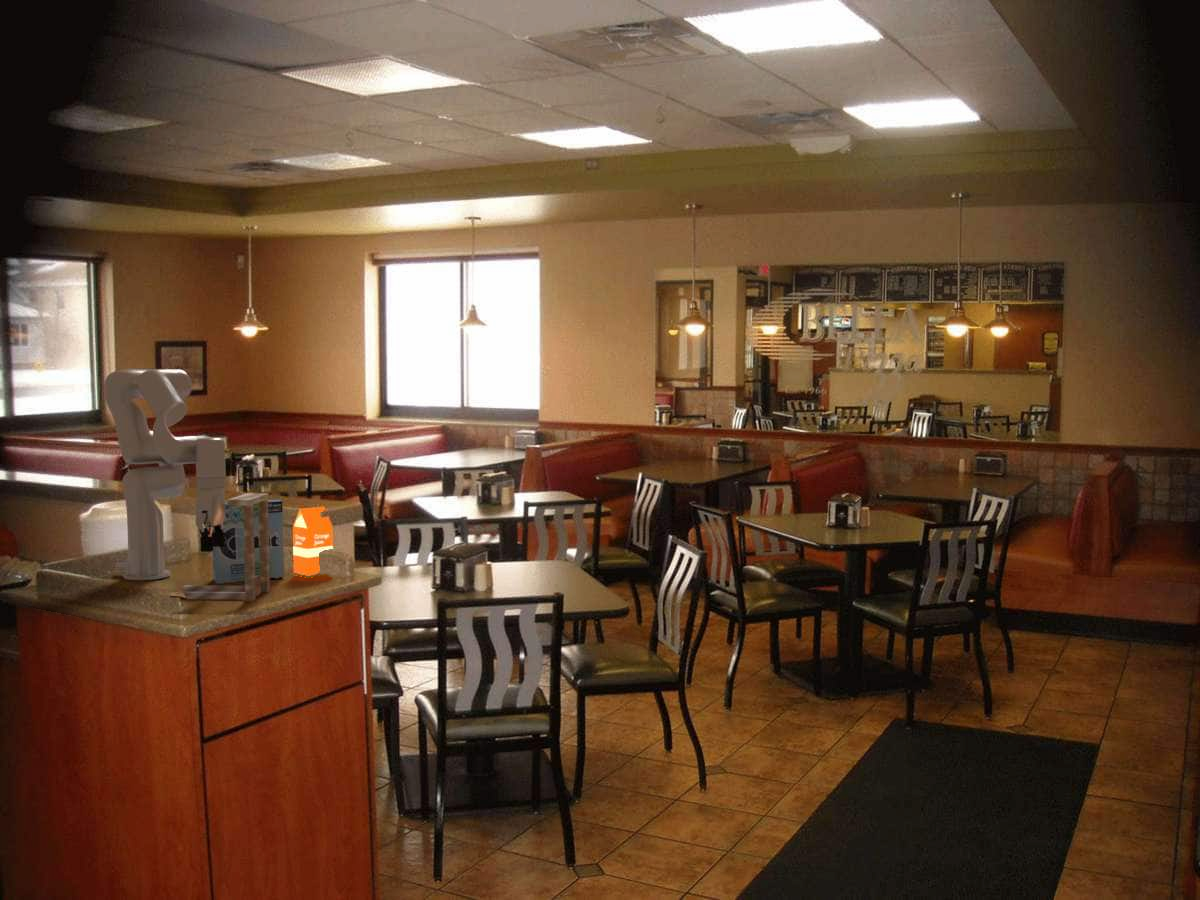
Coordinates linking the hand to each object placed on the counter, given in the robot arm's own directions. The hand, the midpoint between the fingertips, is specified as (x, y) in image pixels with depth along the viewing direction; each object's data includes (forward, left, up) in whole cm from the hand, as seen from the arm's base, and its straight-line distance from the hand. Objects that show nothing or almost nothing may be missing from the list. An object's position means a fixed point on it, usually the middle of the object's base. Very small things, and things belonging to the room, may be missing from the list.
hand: (212, 548), depth 301 cm
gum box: (+2, +23, -13) cm, 26 cm away
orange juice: (+18, +32, -13) cm, 39 cm away
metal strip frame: (0, 0, -13) cm, 13 cm away
